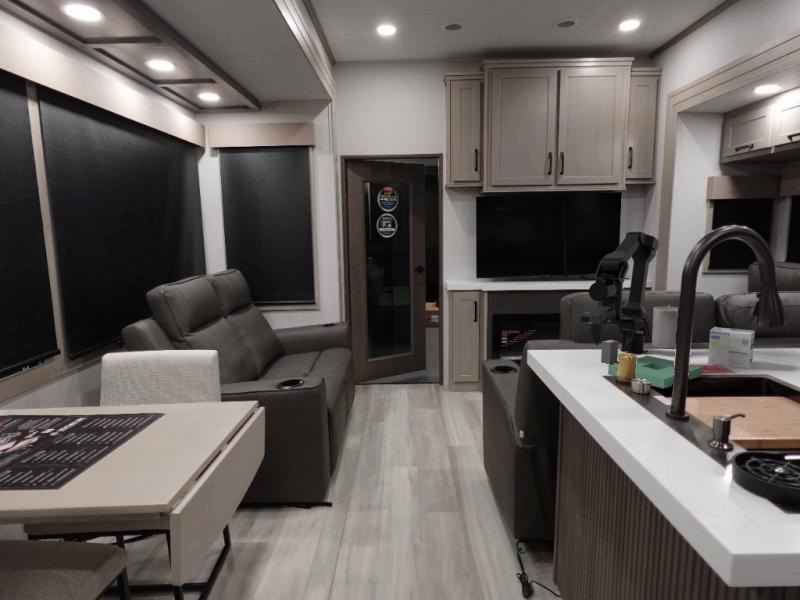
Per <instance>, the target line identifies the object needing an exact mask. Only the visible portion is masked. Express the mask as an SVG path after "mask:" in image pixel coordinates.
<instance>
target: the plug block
mask: <svg viewBox="0 0 800 600" xmlns="http://www.w3.org/2000/svg"><path fill="white" fill-rule="evenodd" d="M600 354H601V356H600V357H601V359H600V363H601V362H602V363H606V364H609V365H608V366H610V365H611V364H614V363H618V362H617V358H618V359H619V341H618V340H613V339H607V340H603V341H601V353H600ZM602 363H601V364H602ZM606 364H605V365H606Z"/></svg>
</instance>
